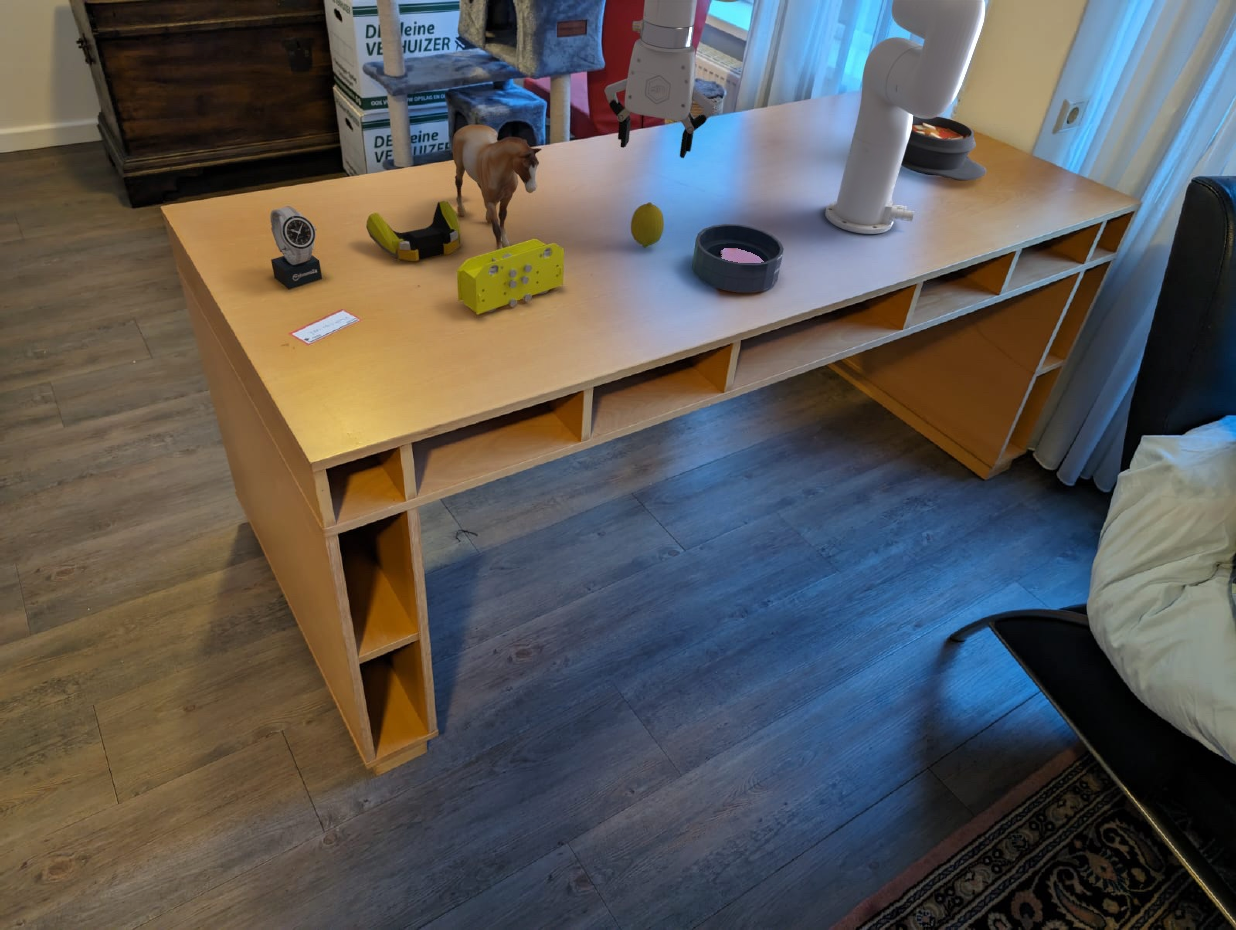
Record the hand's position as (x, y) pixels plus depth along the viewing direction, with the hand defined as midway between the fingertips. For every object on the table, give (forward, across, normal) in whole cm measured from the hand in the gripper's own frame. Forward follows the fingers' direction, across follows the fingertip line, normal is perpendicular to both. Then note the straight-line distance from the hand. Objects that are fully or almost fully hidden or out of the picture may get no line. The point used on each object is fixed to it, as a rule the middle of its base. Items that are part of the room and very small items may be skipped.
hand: (653, 149), depth 140 cm
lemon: (+17, 0, 0) cm, 17 cm away
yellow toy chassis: (+17, -15, -25) cm, 34 cm away
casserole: (+16, +50, +60) cm, 80 cm away
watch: (+18, -47, -31) cm, 59 cm away
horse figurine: (+17, -24, -5) cm, 29 cm away
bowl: (+16, +16, -4) cm, 24 cm away
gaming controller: (+17, -34, -15) cm, 41 cm away
